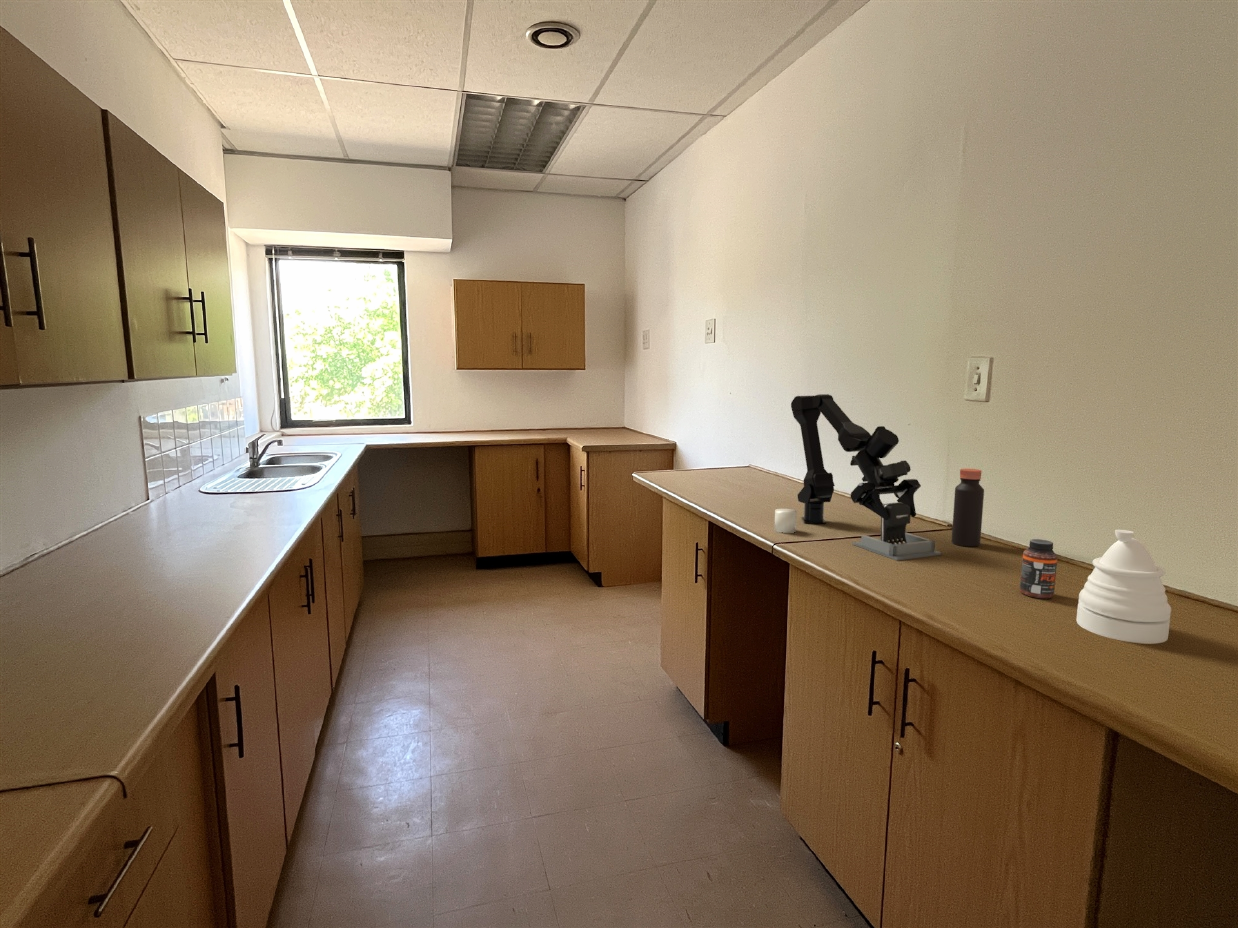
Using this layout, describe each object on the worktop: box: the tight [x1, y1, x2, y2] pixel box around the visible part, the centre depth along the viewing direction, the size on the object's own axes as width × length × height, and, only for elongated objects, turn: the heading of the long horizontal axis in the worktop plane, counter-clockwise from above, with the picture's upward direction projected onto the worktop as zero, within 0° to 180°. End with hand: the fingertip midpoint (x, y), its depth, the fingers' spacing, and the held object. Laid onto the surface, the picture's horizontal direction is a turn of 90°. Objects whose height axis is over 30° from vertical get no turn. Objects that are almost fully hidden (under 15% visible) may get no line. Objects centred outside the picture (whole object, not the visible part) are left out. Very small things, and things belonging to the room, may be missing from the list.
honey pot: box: [1076, 529, 1172, 645], centre depth 112 cm, size 13×13×18 cm
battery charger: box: [880, 502, 911, 545], centre depth 164 cm, size 7×4×11 cm, turn 109°
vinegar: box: [951, 468, 985, 548], centre depth 169 cm, size 7×7×20 cm
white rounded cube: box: [774, 508, 797, 534], centre depth 185 cm, size 6×6×6 cm
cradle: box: [852, 531, 942, 562], centre depth 165 cm, size 16×14×3 cm
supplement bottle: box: [1019, 538, 1058, 600], centre depth 130 cm, size 6×6×11 cm
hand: (901, 517), depth 162 cm, fingers open, 8 cm apart
